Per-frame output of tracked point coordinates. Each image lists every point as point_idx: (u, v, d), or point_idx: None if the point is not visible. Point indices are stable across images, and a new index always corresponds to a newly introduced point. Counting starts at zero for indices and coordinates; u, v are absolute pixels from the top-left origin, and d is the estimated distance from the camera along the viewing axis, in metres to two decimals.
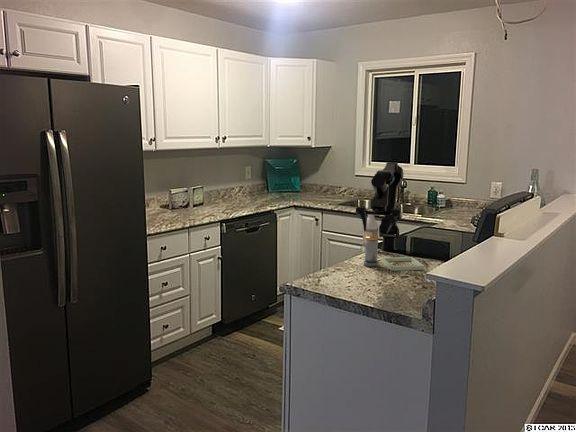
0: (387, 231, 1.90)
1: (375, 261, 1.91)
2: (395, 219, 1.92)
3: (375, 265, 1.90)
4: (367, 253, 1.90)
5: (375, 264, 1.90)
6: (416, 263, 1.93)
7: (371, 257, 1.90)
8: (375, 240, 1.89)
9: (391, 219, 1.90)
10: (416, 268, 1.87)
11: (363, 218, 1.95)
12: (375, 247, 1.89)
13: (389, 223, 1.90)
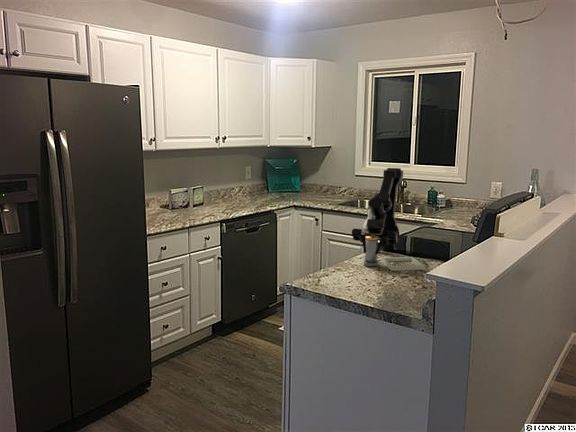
0: (377, 252, 1.89)
1: (375, 261, 1.91)
2: (386, 242, 1.92)
3: (375, 265, 1.90)
4: (367, 253, 1.90)
5: (375, 264, 1.90)
6: (416, 263, 1.93)
7: (371, 257, 1.90)
8: (375, 240, 1.89)
9: (382, 241, 1.90)
10: (416, 268, 1.87)
11: (363, 240, 1.94)
12: (375, 247, 1.89)
13: (380, 244, 1.90)
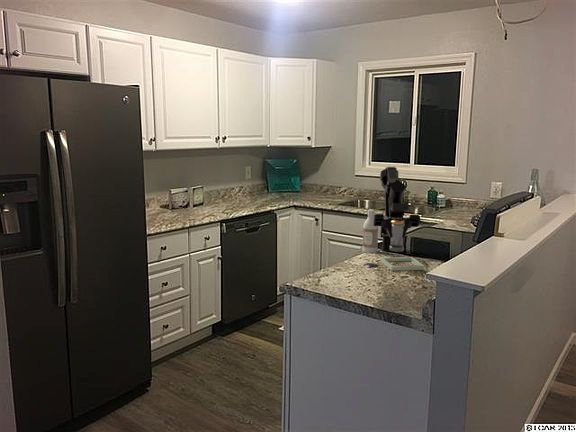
0: None
1: (402, 245, 1.90)
2: (409, 225, 1.93)
3: (402, 249, 1.90)
4: (394, 238, 1.89)
5: (402, 248, 1.90)
6: (416, 263, 1.93)
7: (399, 241, 1.89)
8: (402, 224, 1.88)
9: (407, 224, 1.91)
10: (416, 268, 1.87)
11: (388, 225, 1.91)
12: (402, 231, 1.89)
13: (405, 228, 1.90)
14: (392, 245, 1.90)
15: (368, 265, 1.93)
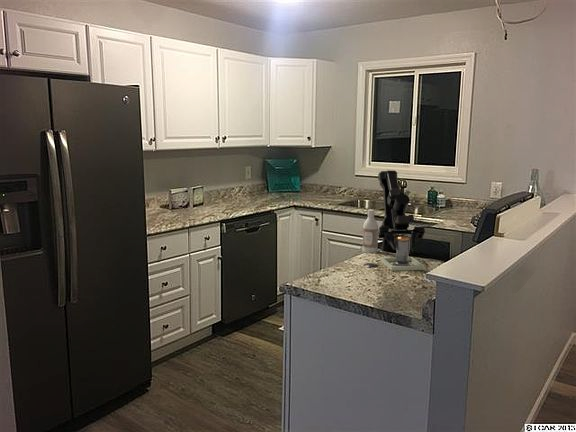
0: None
1: (407, 261, 1.92)
2: (416, 237, 1.95)
3: (408, 265, 1.92)
4: (400, 254, 1.90)
5: (408, 264, 1.91)
6: (416, 263, 1.93)
7: (405, 258, 1.90)
8: (408, 240, 1.90)
9: (414, 236, 1.92)
10: (416, 268, 1.87)
11: (391, 237, 1.92)
12: (408, 247, 1.90)
13: (413, 240, 1.92)
14: (398, 261, 1.92)
15: (368, 265, 1.93)
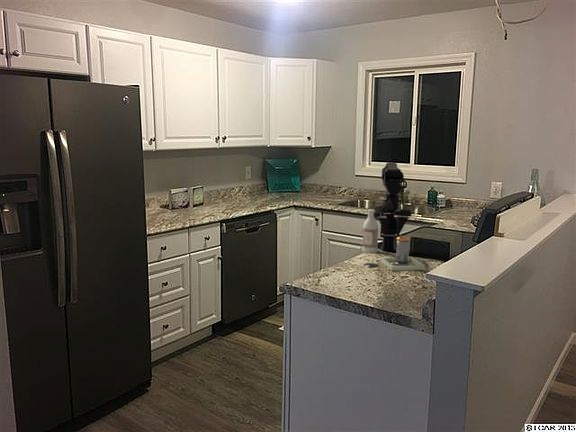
0: (398, 232, 1.96)
1: (407, 261, 1.92)
2: (404, 218, 1.94)
3: (408, 265, 1.92)
4: (400, 254, 1.90)
5: (408, 264, 1.91)
6: (416, 263, 1.93)
7: (405, 258, 1.90)
8: (408, 240, 1.90)
9: (398, 220, 1.94)
10: (416, 268, 1.87)
11: (380, 221, 2.05)
12: (408, 247, 1.90)
13: (397, 224, 1.95)
14: (398, 261, 1.91)
15: (368, 265, 1.93)
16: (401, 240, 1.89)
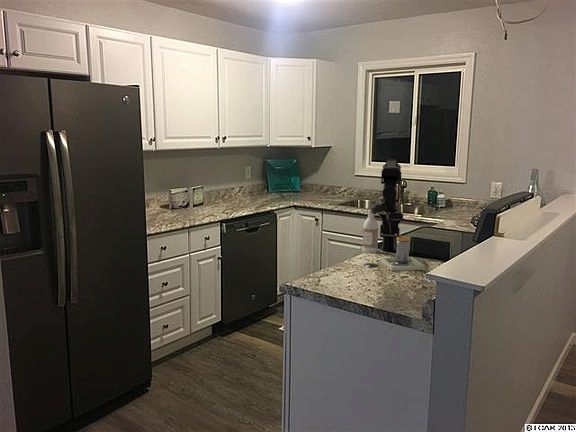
0: (391, 233, 1.96)
1: (407, 261, 1.92)
2: (395, 220, 1.92)
3: (408, 265, 1.92)
4: (400, 254, 1.90)
5: (408, 264, 1.91)
6: (416, 263, 1.93)
7: (405, 258, 1.90)
8: (408, 240, 1.90)
9: (389, 222, 1.94)
10: (416, 268, 1.87)
11: (381, 218, 2.05)
12: (408, 247, 1.90)
13: (390, 226, 1.95)
14: (398, 261, 1.91)
15: (368, 265, 1.93)
16: (401, 240, 1.89)
